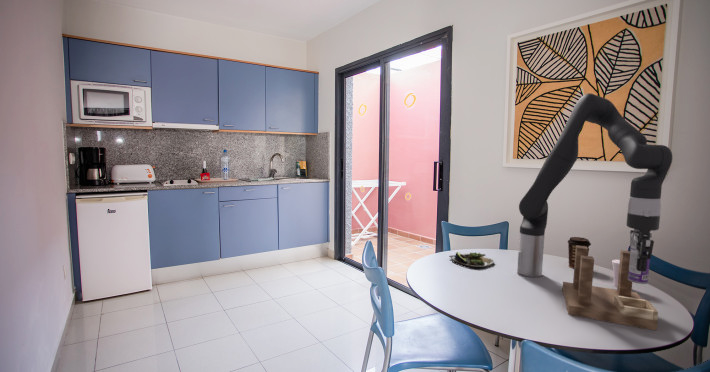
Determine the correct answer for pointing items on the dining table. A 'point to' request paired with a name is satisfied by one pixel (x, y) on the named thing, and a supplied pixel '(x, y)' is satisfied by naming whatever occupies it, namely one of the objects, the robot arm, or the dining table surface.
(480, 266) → the salad plate
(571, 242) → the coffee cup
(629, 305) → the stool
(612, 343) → the dining table surface
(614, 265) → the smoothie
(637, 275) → the container
